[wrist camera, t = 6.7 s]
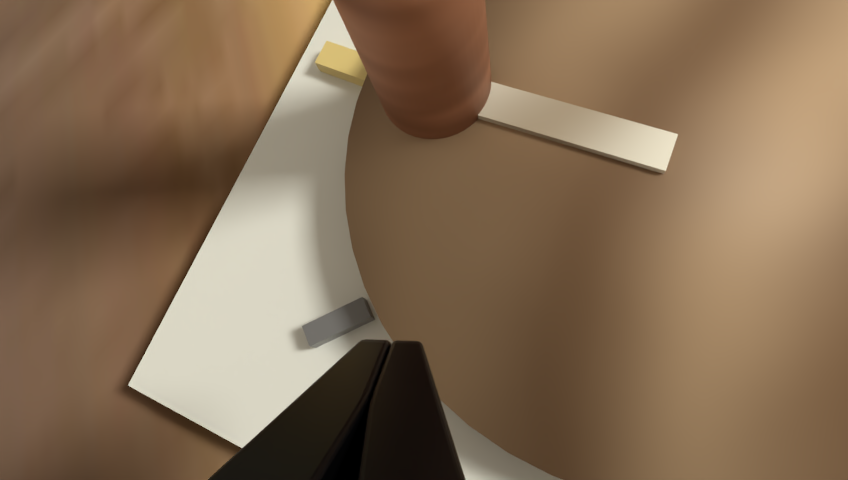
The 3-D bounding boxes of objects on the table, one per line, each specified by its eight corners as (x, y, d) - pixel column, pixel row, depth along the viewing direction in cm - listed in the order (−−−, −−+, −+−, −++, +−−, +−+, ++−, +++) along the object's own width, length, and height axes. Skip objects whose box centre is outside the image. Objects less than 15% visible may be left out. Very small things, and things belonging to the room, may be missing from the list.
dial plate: (992, 847, 12) (1049, 901, 10) (145, 385, 17) (116, 385, 16) (1188, -35, 15) (1246, -72, 14) (445, -186, 21) (440, -223, 20)
